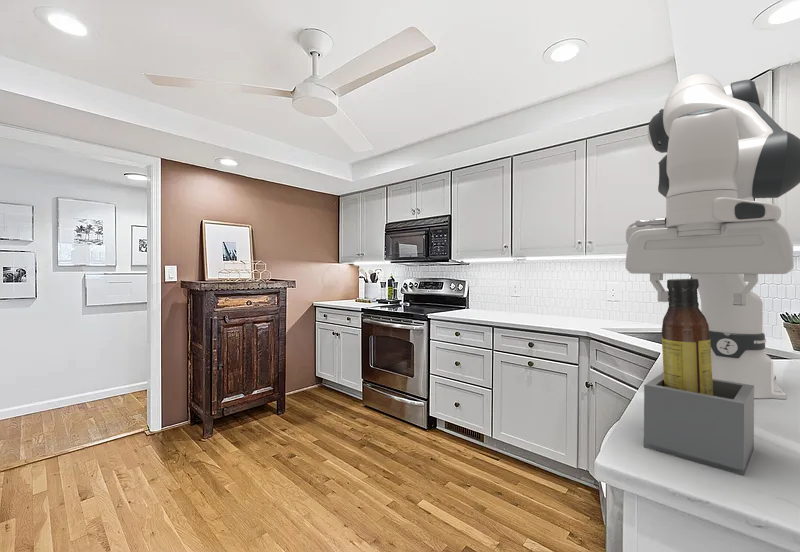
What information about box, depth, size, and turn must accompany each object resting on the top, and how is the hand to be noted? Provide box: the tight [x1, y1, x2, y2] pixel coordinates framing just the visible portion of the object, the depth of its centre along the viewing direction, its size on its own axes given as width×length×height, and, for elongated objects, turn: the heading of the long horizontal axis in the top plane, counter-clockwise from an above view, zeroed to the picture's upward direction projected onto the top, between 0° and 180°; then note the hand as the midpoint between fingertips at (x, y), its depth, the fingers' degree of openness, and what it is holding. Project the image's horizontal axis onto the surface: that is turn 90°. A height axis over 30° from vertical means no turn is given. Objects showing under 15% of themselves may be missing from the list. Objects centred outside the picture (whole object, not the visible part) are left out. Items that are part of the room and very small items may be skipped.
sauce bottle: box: [661, 278, 713, 396], centre depth 60 cm, size 7×6×20 cm
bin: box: [643, 372, 755, 477], centre depth 59 cm, size 12×12×10 cm
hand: (699, 303), depth 59 cm, fingers open, 8 cm apart
